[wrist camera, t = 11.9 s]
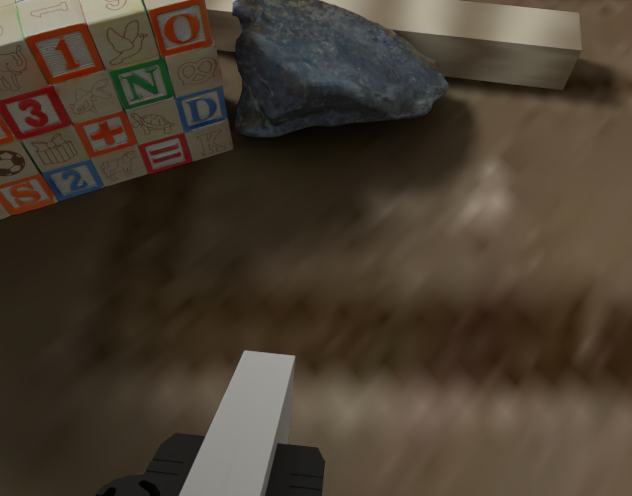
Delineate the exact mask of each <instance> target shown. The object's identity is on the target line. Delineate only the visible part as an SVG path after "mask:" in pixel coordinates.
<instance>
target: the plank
mask: <svg viewBox="0 0 632 496" xmlns="http://www.w3.org/2000/svg"><path fill="white" fill-rule="evenodd" d="M234 1H236V0H205V3H206V9H207V14H208V20H209V25H210V31H211V36H212V38H213V40H214V42H215V45H216V49H217V50H222V51H231V52H235V44H236V39H237V38H238V37H239V36H240V34H241V33H242V29H241V24H240V21H239V18H237V17H236V16H233V15H232V7H233V2H234ZM321 1H324V2H326V3H329V4H333V5H336V6H339V7H341V8H344V9H347V10H349V11H351V12H354V13H356V14H358V15H361V16H363V17H364V18H366V19H367V20H369V21H372V22H376V23H379V24H380V25H381V26H383V27H385V28H388V29H391V30H393V31H394V32H395V33H396V34H397V35H398V36H400V37H402V38H404V39H405V40H406V41H407V42H408V43H410V44H412V45H413V46H414V47H415V48H416V50H417V51H418V52H420V53H422V54H423V55H425V56H427V57H429V58H431V59H433V60H436V61H437V62H438V64H439V66H440V68H441V70H442V73H443V75H444V76H446V77H454V78H463V79H472V80H480V81H489V82H497V83H506V84H515V85H523V86H532V87H540V88H549V89H558V90H563V89H564V87H565V84H566V82H567V80H568V78H569V76H570V74H571V72H572V70H573V68H574V66H575V64H576V62H577V60H578V58H579V56H580V53H581V51H582V45H581V33H580V21H579V13H575V12H565V11H556V10H546V9H536V8H527V7H517V6H507V5H498V4H488V3H478V2H469V1H459V0H321Z"/></svg>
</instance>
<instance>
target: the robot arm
mask: <svg viewBox="0 0 632 496" xmlns="http://www.w3.org/2000/svg"><path fill="white" fill-rule="evenodd" d="M294 363H295V356H291V355H281V354H272V353H263V352H253V351H244V353H243V355H242V357H241V359H240V362H239V364H238V366H237V368H236V370H235V373H234V375H233V377H232V379H231V382H230V384H229V386H228V388H227V390H226V393H225V395H224V397H223V399H222V401H221V404H220V406H219V408H218V410H217V413H216V415H215V417H214V419H213V421H212V424H211V426H210V428H209V430H208V432H207V435H206V436H198V435H189V434H180V433H175V434H174V435H173V436H171V437H170V438H169V439H167V440H166V441H165V442H163V443H162V444H161V445H160V447H159V448H158V450H157V452H156V454H155V455H154V457H153V460H152V461H151V462H150V464H149V466H148V468H147V469H146V473H144V475H140V476H126V477H123V478H119V479H115V480H114V481H112V482H110V483H108V484H106V485H104V486H103V487H102V488H101V489H100V490H99V491H98V492H97V494H96V496H322V487H323V477H324V467H325V461H324V459H323V457H322V455H321V453H320V451H319V449H318V448H315V447H306V446H298V445H289V444H288V439H289V428H290V415H291V402H292V389H293V376H294Z"/></svg>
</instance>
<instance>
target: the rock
mask: <svg viewBox="0 0 632 496" xmlns="http://www.w3.org/2000/svg"><path fill="white" fill-rule="evenodd" d="M232 15H233V16H236V17H237V18H239V21H240V24H241V29H242V33H241V34H240V36H239V37H238V38H237V39H236V44H235V57H236V61H237V66H238V71H239V73H240V75H241V77H242V83H243V84H242V92H241V96H240V99H239V102H238V106H237V115H236V118H235V129H236V131H237V132H238V133H240V134H243V135H245V136H253V137H278V136H282V135H285V134H287V133H290V132H293V131H297V130H301V129H304V128H307V127H310V126H325V127H329V126H339V125H344V124H349V123H366V122H376V121H386V120H403V119H410V118H417V117H421V116H424V115H426V114H427V113H429V111H430V110H431V108H432V105H433V103H434V102H435V101H436V100H437V99H438V98H440V97H441V96H443V95H444V94H445V93H446V91H447V90H448V83H447V81H446V80H445V76H444V75H443V73H442V70H441V68H440V66H439V64H438V62H437V61H436V60H433V59H431V58H429V57H427V56H425V55H423V54H422V53H420V52H418V51H417V50H416V48H415V47H414V46H413V45H412V44H410V43H408V42H407V41H406V40H405V39H404V38H402V37H400V36H398V35H397V34H396V33H395V32H394V31H393V30H391V29H388V28H385V27H383V26H381V25H380V24H379V23H376V22H372V21H369V20H367V19H366V18H364V17H363V16H361V15H358V14H356V13H354V12H351V11H349V10H347V9H344V8H341V7H339V6H336V5H333V4H329V3H326V2H324V1H321V0H236V1H234V2H233V7H232Z"/></svg>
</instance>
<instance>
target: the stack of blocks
mask: <svg viewBox="0 0 632 496" xmlns="http://www.w3.org/2000/svg"><path fill="white" fill-rule="evenodd" d="M232 149H234V146H233V141H232V136H231V130H230V126H229V121H228V118H227V111H226V104H225V99H224V93H223V87H222V77H221V70H220V66H219V60H218V54H217V49H216V45H215V42H214V40H213V38H212V36H211V31H210V25H209V20H208V14H207V9H206V3H205V0H0V220H1V219H4V218H6V217H9V216H11V215H16V214H20V213H24V212H27V211H30V210H34V209H37V208H41V207H44V206H47V205H50V204H54V203H57V202H58V201H59V200H65V199H68V198H71V197H74V196H78V195H81V194H84V193H87V192H91V191H94V190H98V189H101V188H103V187H105V186H110V185H113V184H117V183H120V182H123V181H127V180H130V179H133V178H136V177H140V176H143V175H146V174H152V173H156V172H159V171H163V170H166V169H169V168H172V167H176V166H179V165H182V164H186V163H189V162H192V161H197V160H200V159H203V158H207V157H210V156H213V155H217V154H220V153H223V152H227V151H230V150H232Z"/></svg>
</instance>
